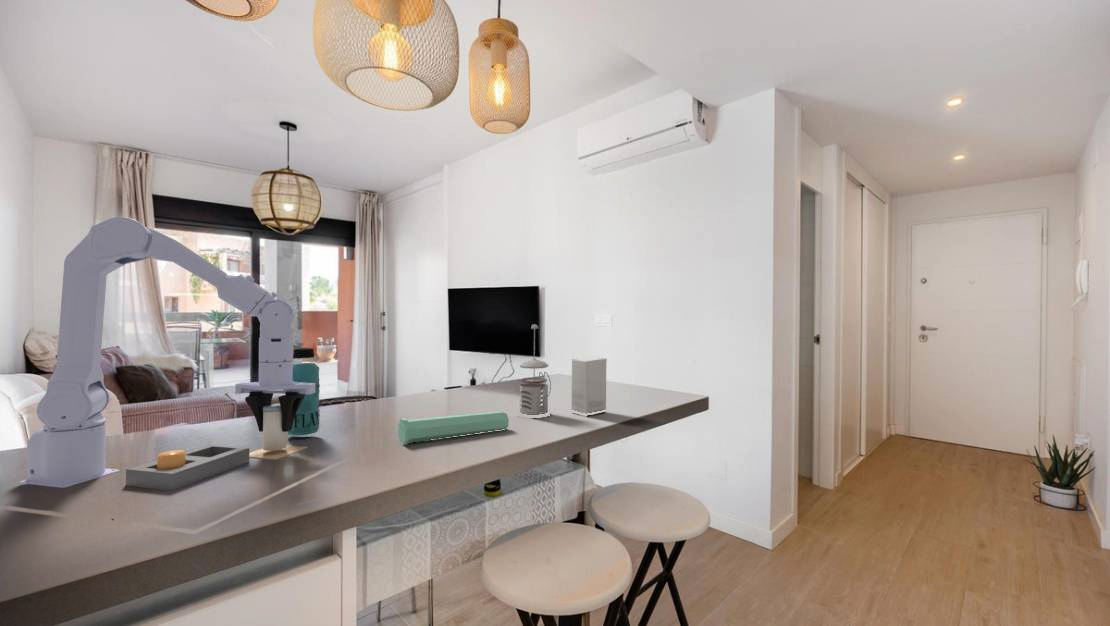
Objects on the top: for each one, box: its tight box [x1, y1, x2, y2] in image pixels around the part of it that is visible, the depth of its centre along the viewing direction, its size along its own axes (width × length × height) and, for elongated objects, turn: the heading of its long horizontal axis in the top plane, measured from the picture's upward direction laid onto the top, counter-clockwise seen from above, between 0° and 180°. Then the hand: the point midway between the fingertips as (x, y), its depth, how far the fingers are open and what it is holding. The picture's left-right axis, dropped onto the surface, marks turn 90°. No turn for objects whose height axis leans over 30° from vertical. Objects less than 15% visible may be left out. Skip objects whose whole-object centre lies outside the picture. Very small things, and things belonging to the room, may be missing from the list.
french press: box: [519, 323, 552, 415], centre depth 128 cm, size 10×12×25 cm
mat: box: [249, 444, 308, 461], centre depth 91 cm, size 8×8×1 cm
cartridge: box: [262, 403, 288, 451], centre depth 91 cm, size 4×4×8 cm
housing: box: [125, 444, 250, 491], centre depth 79 cm, size 9×14×3 cm, turn 168°
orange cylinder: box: [156, 449, 187, 470], centre depth 76 cm, size 4×4×4 cm
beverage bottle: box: [287, 347, 321, 436], centre depth 102 cm, size 6×7×20 cm
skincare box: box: [571, 356, 607, 414], centre depth 131 cm, size 8×7×16 cm
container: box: [397, 410, 510, 446], centre depth 106 cm, size 6×6×25 cm
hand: (275, 430), depth 91 cm, fingers closed on cartridge, 4 cm apart
